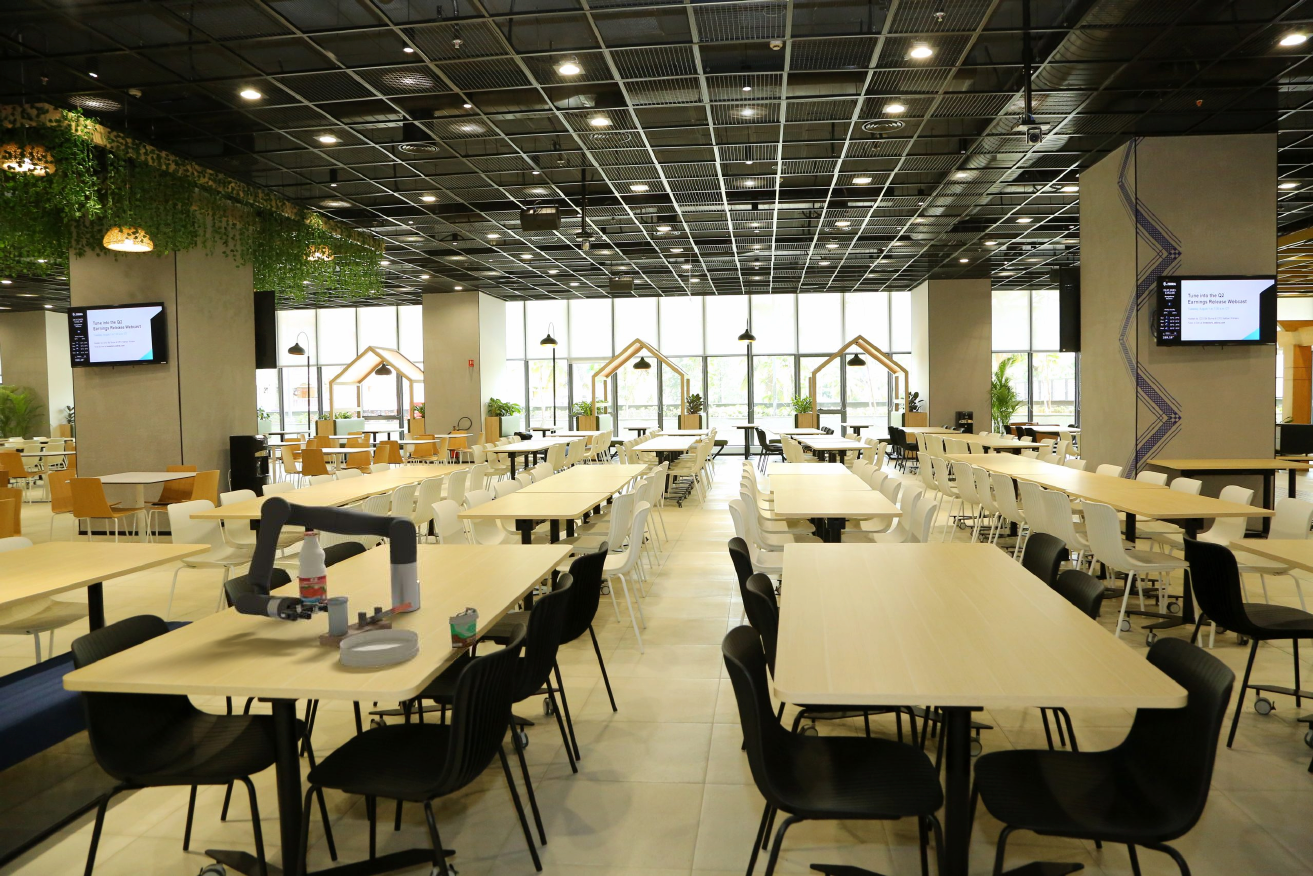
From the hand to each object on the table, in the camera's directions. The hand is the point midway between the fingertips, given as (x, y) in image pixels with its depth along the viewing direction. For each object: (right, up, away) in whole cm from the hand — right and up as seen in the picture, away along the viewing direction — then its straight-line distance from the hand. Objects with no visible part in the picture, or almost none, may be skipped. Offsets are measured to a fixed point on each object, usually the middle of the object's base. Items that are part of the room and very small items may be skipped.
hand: (321, 612), depth 249 cm
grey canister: (+6, -6, -3) cm, 9 cm away
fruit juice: (-22, -8, +44) cm, 50 cm away
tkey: (+12, -4, +9) cm, 16 cm away
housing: (+10, -9, +4) cm, 13 cm away
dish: (+24, -10, -16) cm, 30 cm away
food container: (+48, -8, -7) cm, 49 cm away
